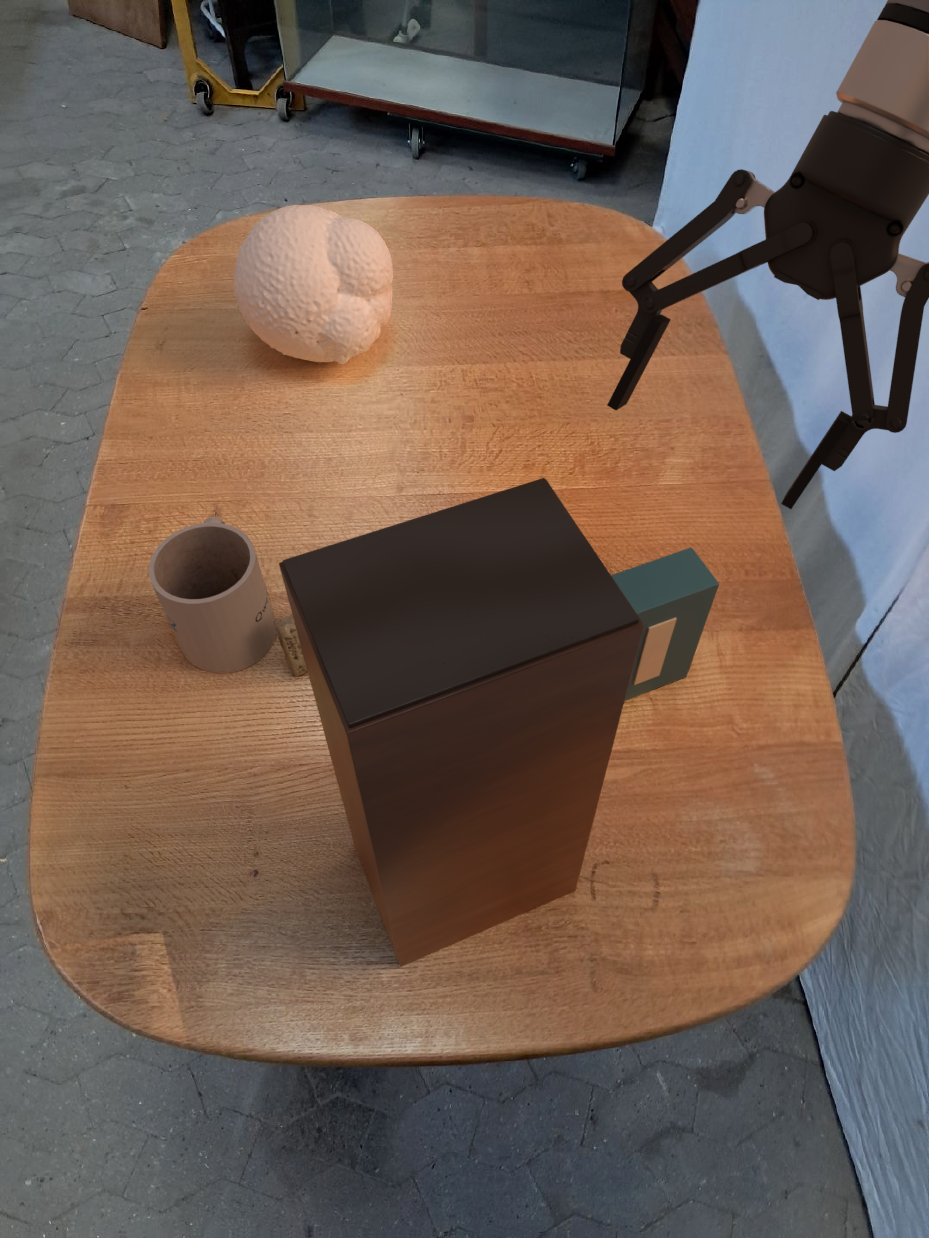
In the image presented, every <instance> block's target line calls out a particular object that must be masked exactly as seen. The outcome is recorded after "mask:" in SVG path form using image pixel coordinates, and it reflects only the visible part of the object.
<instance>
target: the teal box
mask: <svg viewBox="0 0 929 1238" xmlns="http://www.w3.org/2000/svg"><path fill="white" fill-rule="evenodd" d="M610 575H611V576H612V578H613V579H614V581H615V582H616V584H617V585H618V587H619V588H620V589H621V591H622V592H623V594H624V595H625V597H626V598H627V600H628V601H629V603H630V604H631V606H632V607H633V609H634V610H635V612H636V613H637V615H638V616H639V618H640V619H641V621H642V622H643V624H644V627H643V631H642V635H641V639H640V643H639V647H638V651H637V654H636V658H635V662H634V666H633V670H632V674H631V678H630V681H629V685H628V689H627V693H626V697H625V701H624V702H626V701H628V700H630V699H634V698H636V697H638V696H641V695H643V694H646V693H648V692H651V691H654V690H657V689H659V688H662V687H665V686H667V685H669V684H672V683H674V682H677V681H680V680H681V679H682V680H683V679H685V678H687V677H688V674H689V671H690V669H691V665H692V663H693V660H694V657H695V654H696V651H697V649H698V646H699V644H700V640H701V637H702V635H703V631H704V628H705V626H706V623H707V620H708V617H709V615H710V611H711V609H712V606H713V603H714V601H715V597H716V595H717V592H718V589H719V586H720V583H719V581H718V580H717V578H716V577H715V576H714V575H713V573H712V572H711V571H710V569H709V568H708V567H707V565H706V564H705V563H704V561H703V560H702V558H700V556H699V554H697V552H696V551H695V550H694V548H693V547H692V546H691V547H687V548H685V549H682V550H680V551H676V552H673V553H670V554H668V555H665V556H662V557H659V558H656V559H654V560H650V561H647V562H645V563H642V564H639V565H636V566H634V567H630V568H628V569H625V570H623V571H619V572H616V573H613V574H610Z"/></svg>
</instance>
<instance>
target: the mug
mask: <svg viewBox="0 0 929 1238" xmlns="http://www.w3.org/2000/svg"><path fill="white" fill-rule="evenodd" d="M148 577H149V581H150V583H151V586H152V588H153V590H154V593H155V595H156V596H157V599H158V601H159V603H160V605H161V607H162V610H163V613H164V614H165V616H166V618H167V621H168V623H169V626H170V627H171V629H172V632H173V634H174V636H175V638H176V640H177V642H178V645H179V647H180V649H181V652H182V653H183V655H184V656H185V658H186V659H187V661H188V662H189V663H190V664H191V665H192V666H194V667H196V668H197V669H199V670H202V671H205V672H207V673H213V674H229V673H236V672H239V671H242V670H245V669H247V668H249V667H251V666H253V665H255V664H257V663H258V662H259V661H260V660H261V659H263V658H264V657H265V656H266V655H267V654H268V652H269V651H270V650H271V648H272V647H273V646H274V642H275V640H276V637H277V631H276V628H275V626H274V621H275V620H276V617H275V616H276V615H275V613H274V609H273V606H272V602H271V599H270V596H269V592H268V589H267V586H266V582H265V578H264V576H263V573H262V569H261V566H260V561H259V559H258V555H257V552H256V549H255V546H254V543H253V542H252V540H251V539H250V537H249V536H248V535H247V534H246V533H245V532H244V531H242V530H241V529H239V528H237V527H236V526H233V525H231V524H226V523H225V521H224V520H223V519H222V517H220V516H216V515H215V516H209V517H207V518H206V519H205V520H204V521H203V522H202V523H195V524H192V525H188V526H185V527H183V528H181V529H178V530H176V531H174V532H173V533H172V534H170V535H168V536H167V537H165V538H164V539H163V540H162V541H161V542H160V543H159V544H158V546H157V547H156V548H155V549H154V551H153V553H152V555H151V557H150V559H149V563H148Z"/></svg>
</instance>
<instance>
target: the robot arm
mask: <svg viewBox="0 0 929 1238" xmlns="http://www.w3.org/2000/svg"><path fill="white" fill-rule="evenodd" d="M835 94H836V99H837V101H839V102H840V103H841V104H840V107H839V108H838V110H837V111H834V110H829V112H828V114H823V115H822V117H821V119H820V121H819V122H818V125H817V127H816V129H815V130H814V132H813V134H812V136H811V138H810V140H809V141H808V143H807V145H806V147H805V149H804V150H803V153H802V154H801V156H800V158H799V159H798V161H797V163H796V164H795V167H794V169H793V171H792V172H791V174H790V176H789V178H788V179H787V181H786V182H785V183H784V184H783V185H782V186H781V187H780V188H778V189H777V190H776V191H774V190H773V189H772V188H770V187H768V186H767V185H766V184H764V183H762V182H761V181H759V180H758V179H757V178H756V175H755V174H754V173H753V172H752V171H751V170H750V171H749V170H747V169H741V168H740V169H737V170H735V171H733V172H732V174H731V175H730V176H729V178H728V180H727V181H726V183H725V184H724V186H723V187H722V189H721V191H720V192H719V193H718V195H717V197H716V198H715V199H714V201H712V203H710V204H709V205H708V206H706V207H705V208H704V209H703V210H702V211H700V212H699V213H698V214H697V215H695V216H694V217H693V218H692V219H691V220H690V221H688V222H687V223H686V224H685V225H683V226H682V227H681V228H680V229H679V230H677V231H676V232H675V233H674V234H673V235H672V236H670V237H669V238H668V239H667V240H665V241H664V242H663V243H662V244H661V245H659V246H658V247H657V248H656V249H655V250H653V251H651V253H650V254H649V255H647V256H646V257H644V259H642V260H641V261H640V262H638V264H637V265H635V266H634V267H633V268H632V269H630V270H629V271H628V272H626V273H625V274H624V275H623V277H622V280H621V286H622V288H623V290H625V291H626V292H628V293H629V294H630V295H632V298H634V300H635V301H636V303H637V311H636V314H635V315H634V317H633V319H632V321H631V324H630V326H629V327H628V330H627V331H626V333H625V336H624V338H623V340H622V342H621V343H620V348H619V350H620V351H619V354H620V355H621V356H624V357H626V358H627V359H629V361H628V363H627V365H626V367H625V369H624V371H623V373H622V375H621V377H620V379H619V381H618V383H617V384H616V387H615V388H614V391H613V392H612V395H610V399H609V400H608V402H607V404H606V407H609V408H611V409H612V410H614V411H618V410H620V409H621V408H623V407H624V406H626V405H628V402H629V401H630V399H631V397H632V395H633V393H634V391H635V389H636V387H637V385H638V383H639V381H640V380H641V378H642V377H643V373H644V372H645V371H646V368H647V367H648V365H649V363H650V360H651V358H652V357H653V354H654V353H655V351H656V350H657V347H658V345H659V343H660V341H661V339H662V338H663V335H664V334H665V332H666V330H667V328H668V327H669V324H670V322H671V318H669V317H667V316H665V314H664V315H663V314H662V311H664V310H665V309H666V308H669V307H671V306H673V305H676V304H678V303H681V302H682V301H685V300H687V299H689V298H691V297H694V296H695V295H698V294H701V293H702V292H704V291H707V290H709V289H711V288H714V287H715V286H717V285H720V284H722V283H724V282H726V281H729V280H731V279H733V278H736V277H738V276H740V275H742V274H744V273H747V272H749V271H751V270H754V269H756V268H758V267H760V266H763V265H765V264H767V266H768V269H769V270H770V272H771V273H772V275H773V278H774V279H776V280H778V281H780V282H782V283H784V284H788V285H789V284H790V285H795V286H797V287H799V288H800V289H801V290H802V291H803V292H804V293H805V294H806V295H808V296H809V297H812V298H814V299H816V300H817V301H819V300H823V301H829V300H834V299H835V302H836V309H837V315H838V320H839V325H840V332H841V340H842V349H843V356H844V362H845V363H844V364H845V370H846V378H847V385H848V392H849V401H850V408H851V415H850V414H849V413H846V412H844V411H843V410H840V411H839V413H838V415H837V416H836V418H835V419H834V421H833V422H832V424H831V425H830V426H829V428H828V430H827V432H826V433H825V434H824V436H823V437H822V439H821V440H820V442H819V444H818V445H817V446H816V448H815V449H814V451H813V452H812V454H811V456H809V458H808V460H807V462H805V465H804V466H803V467H802V469H801V471H800V472H799V473H798V475H797V476H796V478H795V480H793V483H792V484H791V486H789V489H788V490H787V492H786V493H785V495H784V497H783V499H782V501H781V503H780V504H781V505H782V506H784V507H785V508H788V509H789V510H792V509H793V508H794V506H795V504H796V503H797V502H798V500H799V499H800V497H801V495H802V494H803V493H804V491H805V489H806V488H807V487H808V485H809V484H810V483H811V481H812V479H813V478H814V476H815V475H816V473H817V472H818V470H819V469H820V468H821V466H824V467H826V468H828V469H829V470H831V471H833V472H836V471H837V470H839V469H840V468H842V466H843V465H844V464H845V462H846V461H847V459H848V458H849V456H850V455H851V454H852V452H853V451H854V449H855V448H856V446H857V445H858V444H859V443H860V441H861V439H862V438H863V436H864V435H865V434H866V433H867V432H868V431H871V430H883V431H888V432H890V433H893V434H897V433H900V432H902V431H904V430H905V428H906V426H907V424H908V418H909V412H910V404H911V397H912V391H913V385H914V378H915V371H916V366H917V365H916V364H917V358H918V350H919V344H920V338H921V332H922V331H921V330H922V325H923V324H922V323H923V317H924V310H925V306H926V305H927V302H928V300H929V261H927V262H925V261H923V260H920V259H916V258H913V257H910V256H909V255H905V254H902V253H899V251H900V245H901V241H902V238H903V236H904V234H905V233H906V231H907V230H908V228H909V227H910V226H911V224H912V222H913V220H914V219H915V217H916V216H917V214H918V212H919V211H920V210H921V208H922V206H923V205H924V203H925V201H926V200H927V198H928V197H929V0H887V1H886V2H885V4H884V6H883V8H882V9H881V12H880V14H879V15H878V17H877V19H876V20H874V22H873V24H872V25H871V27H870V30H869V31H868V33H867V34H866V37H865V38H864V40H863V42H862V43H861V46H860V48H859V50H858V51H857V53H856V55H855V57H854V59H853V61H852V62H851V65H850V66H849V68H848V70H847V72H846V73H845V76H844V78H843V79H842V81H841V83H840V84H839V87H838V88H837V90H836V92H835ZM757 207H762V208H763V221H764V235H765V239H763V240H761V241H760V242H757V243H754V244H753V245H751V246H749V247H746V248H744V249H742V250H740V251H738V252H736V253H734V254H732V255H730V256H728V257H725V258H724V259H722V260H719V261H717V262H715V263H713V264H710V265H708V266H706V267H703V268H702V269H700V270H697V271H695V272H693V273H691V274H689V275H686V276H685V277H682V278H681V279H678V280H676V281H674V282H672V283H669V284H668V285H665V286H663V287H661V288H658V287H657V286H656V285H655V284H654V283H653V282H654V281H655V280H656V279H657V278H659V277H660V276H661V275H663V274H664V273H666V271H668V270H669V269H670V268H671V267H673V266H674V265H675V264H676V263H678V262H679V261H680V260H681V259H683V258H684V257H685V256H686V255H688V254H689V253H691V251H693V250H694V249H695V248H696V247H698V246H699V245H700V244H701V243H703V242H704V241H705V240H706V239H708V238H709V237H710V236H711V235H713V234H714V233H715V232H716V231H717V230H719V229H721V227H722V226H724V225H725V224H727V222H729V221H730V220H731V219H732V218H733V217H735V214H738V215H746V214H749V213H750V212H751V211H752V210H754V209H755V208H757ZM889 271H890V272H892V273H894V275H895V277H896V284H895V291H896V294H897V295H899V296H901V297H903V298H904V299H903V303H902V307H901V311H900V317H899V324H898V330H897V331H898V332H897V337H896V344H895V345H896V346H895V351H894V352H895V353H894V359H893V365H892V373H891V380H890V387H889V395H888V401H887V402H888V403H887V406H886V405H880V404H876V403H875V396H874V386H873V379H872V372H871V363H870V357H869V356H870V355H869V348H868V341H867V332H866V331H867V330H866V323H865V316H864V306H863V295H862V287H861V286H863V285H865V284H867V283H869V282H871V281H873V280H875V279H878V278H879V277H881V276H883V275H885V274H887V273H888V272H889Z"/></svg>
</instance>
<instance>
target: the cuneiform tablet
mask: <svg viewBox="0 0 929 1238" xmlns="http://www.w3.org/2000/svg"><path fill="white" fill-rule="evenodd" d="M275 619H276V618H275ZM274 626H275V628H276V631H277V632H276V635H277V637H278V642H279V645H280V648H281V649H282V652H283V655H284V657H285V660H286V662H287V663H288V667H289V671H290V672H291V674H292V675H293V676H294V677H300V676H302V675H304V674H305V673H308V671H307V667H306V663H305V660H304V656H303V652H302V648H301V645H300V641H299V637H298V633H297V630H296V626H295V622H294V619H293V615H292V613H290V614H288V615H285V616H282V617H279V618H277V619H276V620H275V621H274Z"/></svg>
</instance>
